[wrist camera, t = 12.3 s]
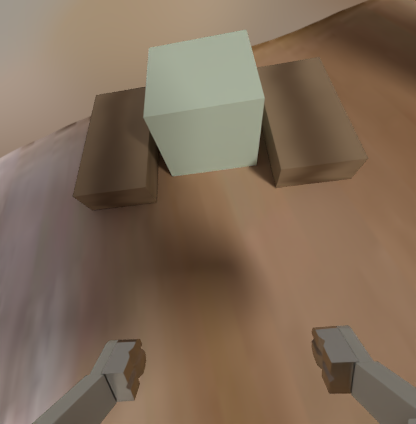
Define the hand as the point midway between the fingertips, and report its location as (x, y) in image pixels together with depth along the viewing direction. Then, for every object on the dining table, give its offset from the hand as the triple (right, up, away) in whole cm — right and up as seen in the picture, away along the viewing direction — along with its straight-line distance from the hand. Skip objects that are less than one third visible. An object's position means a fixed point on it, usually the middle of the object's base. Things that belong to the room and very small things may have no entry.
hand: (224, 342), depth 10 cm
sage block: (0, +15, +15) cm, 21 cm away
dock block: (-1, +14, +14) cm, 20 cm away
